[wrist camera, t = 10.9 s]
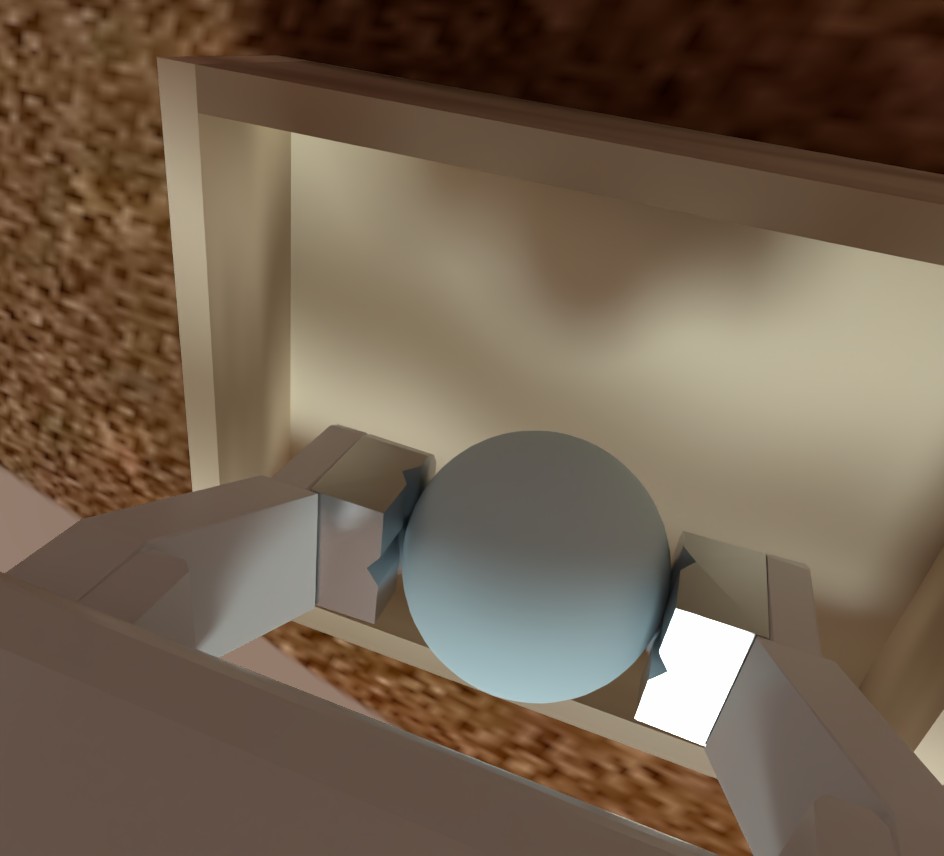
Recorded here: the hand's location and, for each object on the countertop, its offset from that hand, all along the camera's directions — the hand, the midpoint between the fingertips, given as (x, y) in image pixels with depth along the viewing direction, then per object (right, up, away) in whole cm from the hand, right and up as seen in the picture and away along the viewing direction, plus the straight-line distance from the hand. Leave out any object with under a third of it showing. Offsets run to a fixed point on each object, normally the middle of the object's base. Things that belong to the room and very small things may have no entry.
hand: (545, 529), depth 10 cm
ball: (0, 0, +1) cm, 1 cm away
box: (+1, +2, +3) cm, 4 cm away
